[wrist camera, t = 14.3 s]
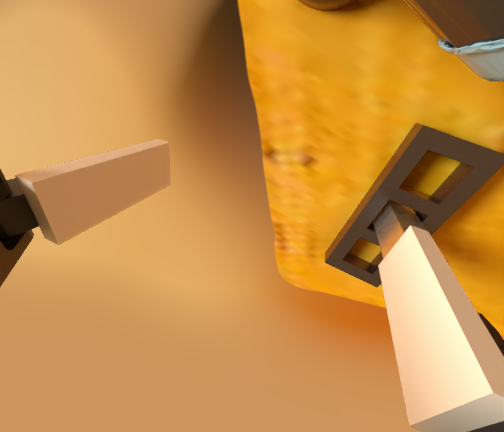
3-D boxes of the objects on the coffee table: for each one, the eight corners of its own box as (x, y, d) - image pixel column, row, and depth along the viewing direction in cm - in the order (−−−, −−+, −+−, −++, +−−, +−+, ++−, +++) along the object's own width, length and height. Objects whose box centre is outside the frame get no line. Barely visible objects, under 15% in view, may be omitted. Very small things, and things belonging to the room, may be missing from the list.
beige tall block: (387, 197, 33) (410, 245, 23) (412, 208, 33) (448, 261, 22) (371, 217, 35) (386, 269, 25) (395, 227, 35) (420, 284, 24)
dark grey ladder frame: (415, 122, 28) (423, 125, 25) (495, 151, 26) (511, 157, 24) (325, 252, 42) (324, 262, 39) (374, 275, 40) (377, 287, 38)
